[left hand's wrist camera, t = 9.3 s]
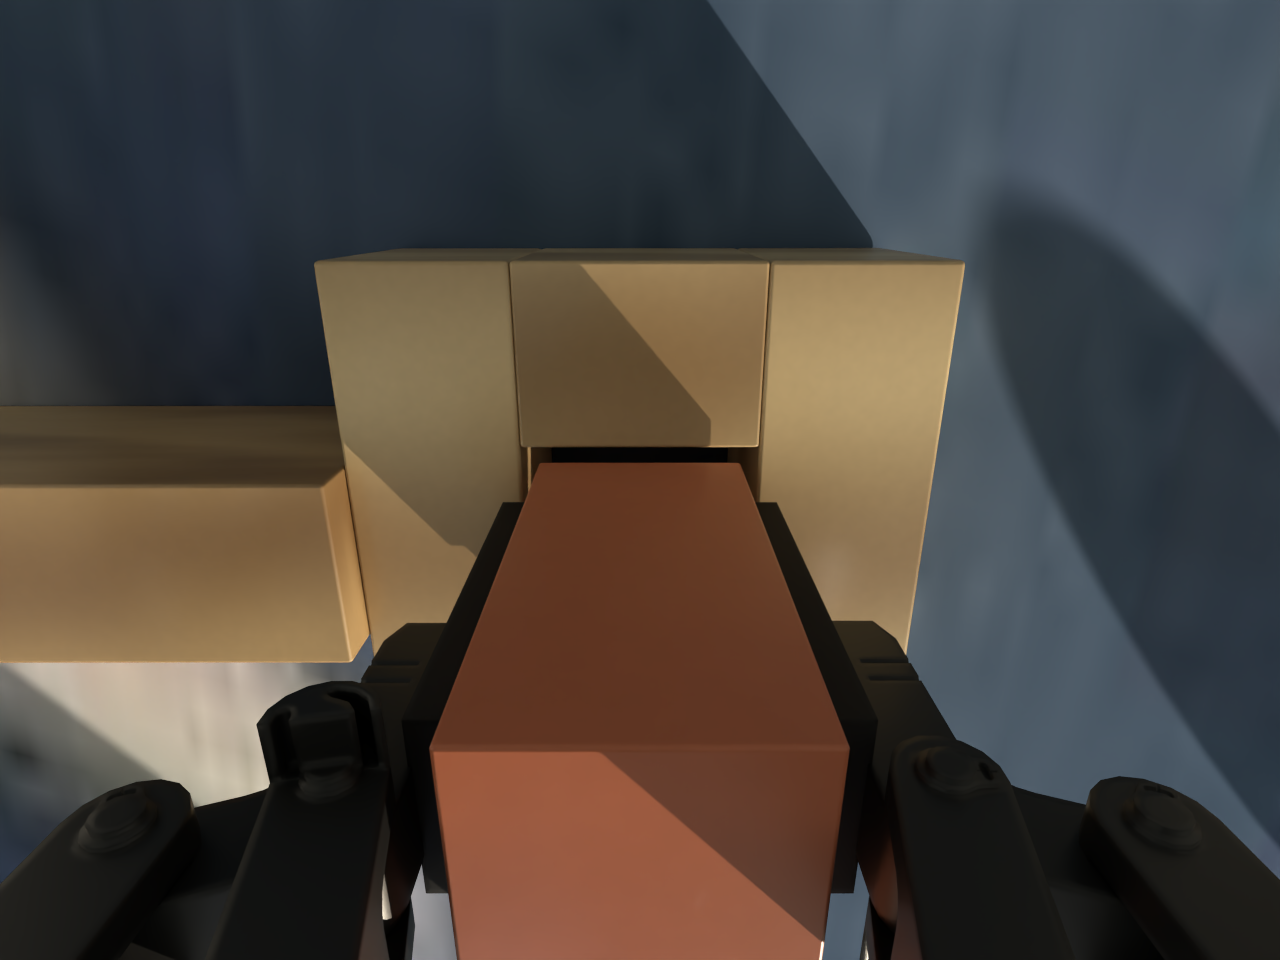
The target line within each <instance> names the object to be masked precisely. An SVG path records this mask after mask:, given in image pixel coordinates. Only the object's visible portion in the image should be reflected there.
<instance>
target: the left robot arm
mask: <svg viewBox="0 0 1280 960" xmlns="http://www.w3.org/2000/svg"><path fill="white" fill-rule="evenodd" d="M755 504H756V506H757V509H758V511H759V514H760V516H761V519H762V522H763V524H764V527H765V529H766V532H767V535H768V537H769V540H770V542H771V545H772V548H773V550H774V553H775V555H776V558H777V561H778V563H779V566H780V568H781V571H782V573H783V576H784V579H785V581H786V584H787V586H788V589H789V592H790V594H791V597H792V599H793V602H794V605H795V607H796V610H797V612H798V615H799V618H800V620H801V623H802V625H803V628H804V631H805V633H806V636H807V638H808V641H809V643H810V646H811V649H812V651H813V654H814V656H815V659H816V662H817V664H818V667H819V669H820V672H821V675H822V677H823V680H824V682H825V685H826V688H827V690H828V693H829V695H830V698H831V700H832V703H833V706H834V708H835V711H836V713H837V716H838V719H839V721H840V724H841V726H842V729H843V732H844V734H845V737H846V739H847V742H848V745H849V747H850V750H849V758H848V766H847V773H846V781H845V788H844V796H843V804H842V811H841V819H840V826H839V834H838V842H837V849H836V857H835V864H834V872H833V879H832V887H831V893H854V886H855V879H856V872H857V865H858V862H859V865H860V868H861V871H862V874H863V877H864V880H865V883H866V886H867V889H868V892H869V901H868V908H867V914H866V921H865V927H864V934H863V940H862V947H861V953H860V960H1280V880H1279V879H1278V878H1277V877H1276V876H1275V875H1274V874H1273V873H1272V872H1271V871H1270V870H1269V869H1268V868H1267V867H1266V866H1265V865H1264V864H1263V863H1262V862H1261V861H1260V860H1259V859H1258V858H1257V857H1256V856H1255V855H1254V854H1253V853H1252V852H1251V851H1250V850H1249V849H1248V848H1247V847H1246V846H1245V845H1244V844H1243V843H1242V842H1241V841H1240V840H1239V839H1238V838H1237V837H1236V836H1235V835H1234V834H1233V833H1232V832H1231V831H1230V830H1229V829H1228V828H1227V827H1226V826H1225V825H1224V824H1223V823H1222V822H1221V821H1220V820H1219V819H1218V818H1217V817H1216V816H1214V815H1213V814H1212V813H1211V812H1209V811H1208V810H1207V809H1206V808H1204V807H1203V806H1202V805H1201V804H1199V803H1198V802H1197V801H1195V800H1193V799H1191V798H1189V797H1187V796H1185V795H1183V794H1182V793H1180V792H1178V791H1176V790H1174V789H1172V788H1170V787H1167V786H1164V785H1161V784H1158V783H1155V782H1152V781H1149V780H1145V779H1140V778H1131V777H1121V776H1118V777H1113V778H1109V779H1104V780H1100V781H1099V782H1098V783H1097V784H1096V785H1095V786H1094V787H1093V788H1092V789H1091V790H1090V793H1089V797H1088V800H1087V804H1086V805H1084V804H1080V803H1076V802H1072V801H1067V800H1063V799H1059V798H1054V797H1050V796H1046V795H1042V794H1037V793H1034V792H1030V791H1027V790H1024V789H1021V788H1017V787H1015V786H1013V785H1011V783H1010V781H1009V780H1008V778H1007V777H1006V775H1005V774H1004V772H1003V770H1002V769H1001V767H1000V766H999V765H998V764H997V763H995V762H994V761H993V760H992V759H991V758H989V757H988V756H987V755H986V754H985V753H983V752H982V751H980V750H978V749H976V748H974V747H972V746H970V745H968V744H966V743H964V742H962V741H958V740H956V738H955V737H954V735H953V733H952V732H951V730H950V728H949V727H948V725H947V723H946V722H945V720H944V718H943V717H942V715H941V713H940V712H939V710H938V708H937V706H936V705H935V703H934V701H933V700H932V698H931V696H930V695H929V693H928V691H927V690H926V688H925V686H924V685H923V683H922V681H919V679H918V675H917V673H916V671H915V670H914V668H913V666H912V665H911V663H908V658H907V656H906V654H905V653H904V651H903V649H902V648H901V646H900V644H899V643H898V641H897V639H896V638H895V637H893V636H892V635H891V634H890V633H888V632H887V631H886V630H884V629H883V628H882V627H880V626H879V625H878V624H876V623H875V622H874V621H832V620H831V617H830V615H829V613H828V611H827V609H826V607H825V605H824V602H823V600H822V598H821V596H820V594H819V592H818V590H817V587H816V585H815V583H814V581H813V579H812V577H811V574H810V572H809V570H808V568H807V566H806V564H805V562H804V559H803V557H802V555H801V553H800V551H799V549H798V547H797V544H796V542H795V540H794V538H793V536H792V534H791V532H790V529H789V527H788V525H787V523H786V521H785V519H784V517H783V514H782V512H781V510H780V508H779V506H778V504H777V502H755ZM523 505H524V502H503V503H502V505H501V507H500V509H499V511H498V513H497V516H496V518H495V520H494V522H493V524H492V526H491V528H490V531H489V533H488V535H487V537H486V539H485V541H484V543H483V546H482V548H481V550H480V552H479V554H478V556H477V558H476V561H475V563H474V565H473V567H472V569H471V571H470V573H469V576H468V578H467V580H466V582H465V584H464V586H463V588H462V591H461V593H460V595H459V597H458V599H457V601H456V603H455V606H454V608H453V610H452V612H451V614H450V616H449V618H448V621H447V623H406V624H405V625H404V626H402V627H401V628H400V629H398V630H397V631H396V632H395V633H393V634H392V635H391V636H389V637H388V638H387V639H385V640H384V641H383V643H382V645H381V646H380V648H379V650H378V651H377V653H376V655H375V657H374V658H373V660H372V664H371V666H369V667H368V668H367V670H366V672H365V673H364V675H363V677H362V678H361V683H357V682H354V681H330V682H325V683H321V684H316V685H312V686H308V687H305V688H303V689H301V690H299V691H296V692H294V693H292V694H289V695H287V696H285V697H284V698H282V699H281V700H280V701H278V702H277V703H276V704H274V705H273V706H272V707H270V708H269V709H268V710H267V711H266V712H265V714H264V715H263V716H262V718H261V719H260V720H259V722H258V723H257V729H258V733H259V737H260V742H261V746H262V750H263V755H264V759H265V763H266V768H267V772H268V776H269V780H270V785H269V787H268V788H267V789H265V790H262V791H259V792H256V793H253V794H249V795H246V796H242V797H238V798H234V799H229V800H225V801H221V802H217V803H212V804H208V805H204V806H200V807H195V808H194V806H193V802H192V799H191V795H190V793H189V792H188V791H187V790H186V789H185V788H184V787H183V786H182V785H181V784H180V783H176V782H171V781H166V780H162V779H160V780H150V781H141V782H135V783H132V784H129V785H126V786H123V787H120V788H117V789H114V790H111V791H108V792H107V793H105V794H103V795H101V796H99V797H97V798H95V799H93V800H92V801H90V802H88V803H86V804H84V805H83V806H81V807H80V808H79V809H78V810H76V811H75V812H74V813H73V814H71V815H70V816H69V817H68V818H66V819H65V820H64V821H63V822H61V823H60V824H59V825H58V826H57V827H56V828H55V829H54V830H53V831H52V832H51V833H50V834H49V835H48V836H47V837H46V838H45V839H44V840H43V841H42V842H41V843H40V844H39V845H38V846H37V847H36V848H35V849H34V851H33V852H32V853H31V854H30V855H29V856H28V857H27V858H26V859H25V860H24V861H23V862H22V863H21V864H20V865H19V866H18V867H17V868H16V869H15V870H14V871H13V872H12V873H11V874H10V875H9V876H8V877H7V878H6V879H5V880H4V881H3V882H2V883H1V884H0V960H412V952H413V941H414V931H415V922H414V915H413V908H412V901H411V894H412V891H413V888H414V885H415V882H416V879H417V876H418V873H419V870H420V867H421V864H422V868H423V875H424V882H425V889H426V893H448V886H447V879H446V871H445V864H444V856H443V849H442V841H441V833H440V826H439V818H438V811H437V803H436V796H435V788H434V780H433V773H432V765H431V758H430V750H429V747H430V745H431V742H432V739H433V737H434V734H435V732H436V729H437V727H438V724H439V721H440V719H441V716H442V714H443V711H444V708H445V706H446V703H447V701H448V698H449V696H450V693H451V690H452V688H453V685H454V683H455V680H456V678H457V675H458V672H459V670H460V667H461V665H462V662H463V660H464V657H465V654H466V652H467V649H468V647H469V644H470V641H471V639H472V636H473V634H474V631H475V629H476V626H477V623H478V621H479V618H480V616H481V613H482V611H483V608H484V605H485V603H486V600H487V598H488V595H489V593H490V590H491V587H492V585H493V582H494V580H495V577H496V574H497V572H498V569H499V567H500V564H501V562H502V559H503V556H504V554H505V551H506V549H507V546H508V544H509V541H510V538H511V536H512V533H513V531H514V528H515V526H516V523H517V520H518V518H519V515H520V513H521V510H522V508H523Z"/></svg>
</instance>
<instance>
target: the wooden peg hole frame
mask: <svg viewBox="0 0 1280 960" xmlns="http://www.w3.org/2000/svg"><path fill="white" fill-rule="evenodd" d="M314 268H315V275H316V281H317V288H318V294H319V301H320V307H321V314H322V320H323V327H324V333H325V340H326V346H327V353H328V359H329V366H330V372H331V379H332V386H333V392H334V399H335V405H336V406H0V663H17V662H351V661H353V659H354V658H355V656H356V654H357V653H358V651H359V650H360V648H361V647H362V645H363V644H364V642H365V640H366V639H367V637H368V636H369V634H371V640H372V647H373V653H374V657H375V655H376V653H377V651H378V650H379V648H380V646H381V645H382V643H383V641H384V640H385V639H387V638H388V637H389V636H391V635H392V634H393V633H395V632H396V631H397V630H398V629H400V628H401V627H402V626H404V625H405V624H406V623H447V621H448V618H449V616H450V614H451V612H452V610H453V608H454V606H455V603H456V601H457V599H458V597H459V595H460V593H461V591H462V588H463V586H464V584H465V582H466V580H467V578H468V576H469V573H470V571H471V569H472V567H473V565H474V563H475V561H476V558H477V556H478V554H479V552H480V550H481V548H482V546H483V543H484V541H485V539H486V537H487V535H488V533H489V531H490V528H491V526H492V524H493V522H494V520H495V518H496V516H497V513H498V511H499V509H500V507H501V505H502V503H503V502H525V500H526V497H527V495H528V492H529V489H530V487H531V484H532V482H533V479H534V477H535V474H536V471H537V469H538V466H539V464H540V463H552V447H728V455H727V463H739V464H740V465H741V467H742V470H743V472H744V475H745V478H746V480H747V483H748V485H749V488H750V491H751V493H752V496H753V498H754V501H755V502H777V504H778V506H779V508H780V510H781V512H782V514H783V517H784V519H785V521H786V523H787V525H788V527H789V529H790V532H791V534H792V536H793V538H794V540H795V542H796V544H797V547H798V549H799V551H800V553H801V555H802V557H803V559H804V562H805V564H806V566H807V568H808V570H809V572H810V574H811V577H812V579H813V581H814V583H815V585H816V587H817V590H818V592H819V594H820V596H821V598H822V600H823V602H824V605H825V607H826V609H827V611H828V613H829V615H830V617H831V620H832V621H874V622H875V623H876V624H878V625H879V626H880V627H882V628H883V629H884V630H886V631H887V632H888V633H890V634H891V635H892V636H893V637H895V638H896V639H897V641H898V643H899V644H900V646H901V648H902V649H903V651H904V653H905V654H906V650H907V644H908V637H909V631H910V624H911V617H912V611H913V604H914V598H915V591H916V584H917V578H918V571H919V565H920V558H921V551H922V545H923V538H924V532H925V525H926V518H927V512H928V505H929V499H930V492H931V485H932V479H933V472H934V466H935V459H936V453H937V446H938V439H939V433H940V426H941V420H942V413H943V406H944V400H945V393H946V387H947V380H948V373H949V367H950V360H951V354H952V347H953V340H954V334H955V327H956V321H957V314H958V307H959V301H960V294H961V288H962V281H963V274H964V268H965V263H964V261H961V260H956V259H949V258H943V257H936V256H929V255H922V254H915V253H909V252H902V251H895V250H888V249H882V248H740V249H738V250H737V249H735V248H545V249H542V250H541V249H539V248H400V249H393V250H386V251H379V252H373V253H366V254H359V255H353V256H346V257H339V258H332V259H326V260H319V261H316V262H315V264H314Z"/></svg>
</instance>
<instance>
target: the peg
mask: <svg viewBox="0 0 1280 960" xmlns="http://www.w3.org/2000/svg"><path fill="white" fill-rule="evenodd" d="M429 750H430V758H431V765H432V773H433V780H434V788H435V796H436V803H437V811H438V818H439V826H440V833H441V841H442V849H443V856H444V864H445V871H446V879H447V886H448V894H449V902H450V909H451V917H452V924H453V932H454V939H455V947H456V955H457V960H822V955H823V948H824V940H825V933H826V925H827V917H828V910H829V902H830V895H831V887H832V879H833V872H834V864H835V857H836V849H837V842H838V834H839V826H840V819H841V811H842V804H843V796H844V788H845V781H846V773H847V766H848V758H849V750H850V747H849V745H848V742H847V739H846V737H845V734H844V732H843V729H842V726H841V724H840V721H839V719H838V716H837V713H836V711H835V708H834V706H833V703H832V700H831V698H830V695H829V693H828V690H827V688H826V685H825V682H824V680H823V677H822V675H821V672H820V669H819V667H818V664H817V662H816V659H815V656H814V654H813V651H812V649H811V646H810V643H809V641H808V638H807V636H806V633H805V631H804V628H803V625H802V623H801V620H800V618H799V615H798V612H797V610H796V607H795V605H794V602H793V599H792V597H791V594H790V592H789V589H788V586H787V584H786V581H785V579H784V576H783V573H782V571H781V568H780V566H779V563H778V561H777V558H776V555H775V553H774V550H773V548H772V545H771V542H770V540H769V537H768V535H767V532H766V529H765V527H764V524H763V522H762V519H761V516H760V514H759V511H758V509H757V506H756V504H755V501H754V498H753V496H752V493H751V491H750V488H749V485H748V483H747V480H746V478H745V475H744V472H743V470H742V467H741V465H740V464H739V463H540V464H539V466H538V469H537V471H536V474H535V477H534V479H533V482H532V484H531V487H530V489H529V492H528V495H527V497H526V500H525V502H524V505H523V508H522V510H521V513H520V515H519V518H518V520H517V523H516V526H515V528H514V531H513V533H512V536H511V538H510V541H509V544H508V546H507V549H506V551H505V554H504V556H503V559H502V562H501V564H500V567H499V569H498V572H497V574H496V577H495V580H494V582H493V585H492V587H491V590H490V593H489V595H488V598H487V600H486V603H485V605H484V608H483V611H482V613H481V616H480V618H479V621H478V623H477V626H476V629H475V631H474V634H473V636H472V639H471V641H470V644H469V647H468V649H467V652H466V654H465V657H464V660H463V662H462V665H461V667H460V670H459V672H458V675H457V678H456V680H455V683H454V685H453V688H452V690H451V693H450V696H449V698H448V701H447V703H446V706H445V708H444V711H443V714H442V716H441V719H440V721H439V724H438V727H437V729H436V732H435V734H434V737H433V739H432V742H431V745H430V747H429Z"/></svg>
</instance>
